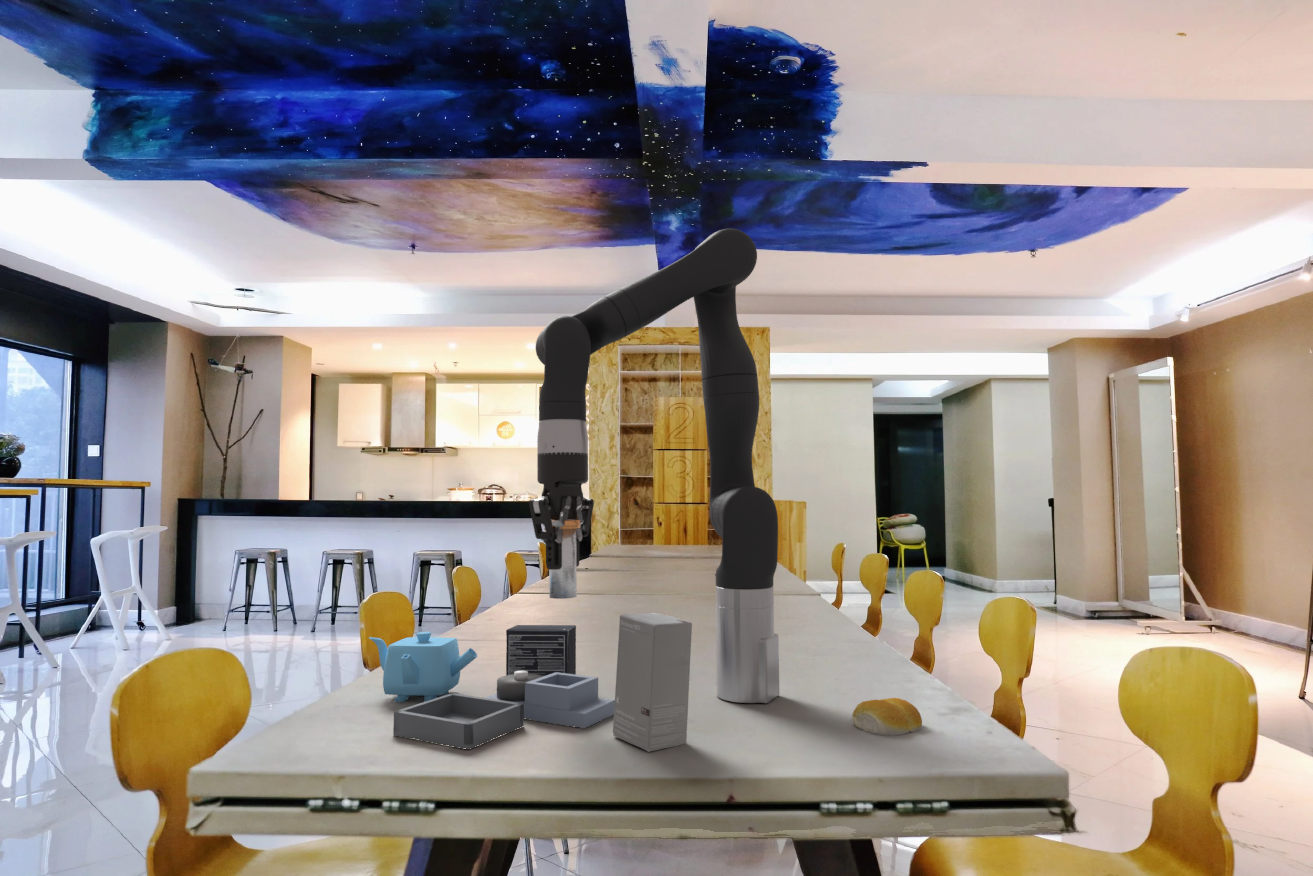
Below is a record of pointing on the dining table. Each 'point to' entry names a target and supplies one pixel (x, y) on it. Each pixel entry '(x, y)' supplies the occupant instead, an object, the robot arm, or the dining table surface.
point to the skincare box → (652, 680)
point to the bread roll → (887, 717)
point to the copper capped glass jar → (565, 564)
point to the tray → (458, 720)
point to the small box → (541, 649)
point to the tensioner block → (556, 697)
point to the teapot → (421, 665)
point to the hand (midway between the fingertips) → (563, 567)
